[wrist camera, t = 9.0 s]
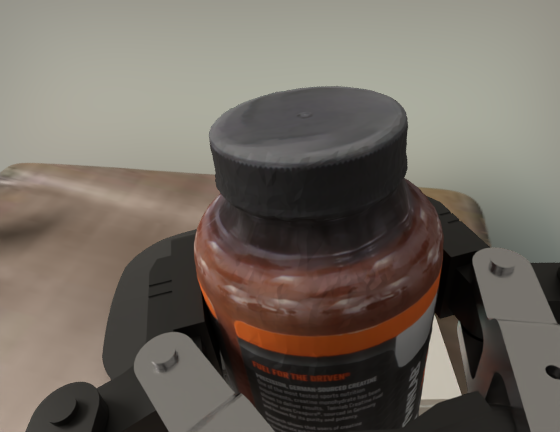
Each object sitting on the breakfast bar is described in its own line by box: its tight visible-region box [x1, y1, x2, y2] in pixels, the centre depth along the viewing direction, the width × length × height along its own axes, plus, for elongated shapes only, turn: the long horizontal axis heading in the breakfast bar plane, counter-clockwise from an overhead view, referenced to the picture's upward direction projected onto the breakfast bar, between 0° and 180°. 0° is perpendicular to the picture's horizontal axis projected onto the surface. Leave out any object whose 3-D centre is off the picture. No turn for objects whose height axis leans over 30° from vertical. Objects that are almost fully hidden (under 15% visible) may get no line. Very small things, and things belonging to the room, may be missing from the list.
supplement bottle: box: [194, 86, 444, 432], centre depth 11 cm, size 6×6×11 cm
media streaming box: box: [102, 229, 232, 389], centre depth 29 cm, size 15×15×3 cm
